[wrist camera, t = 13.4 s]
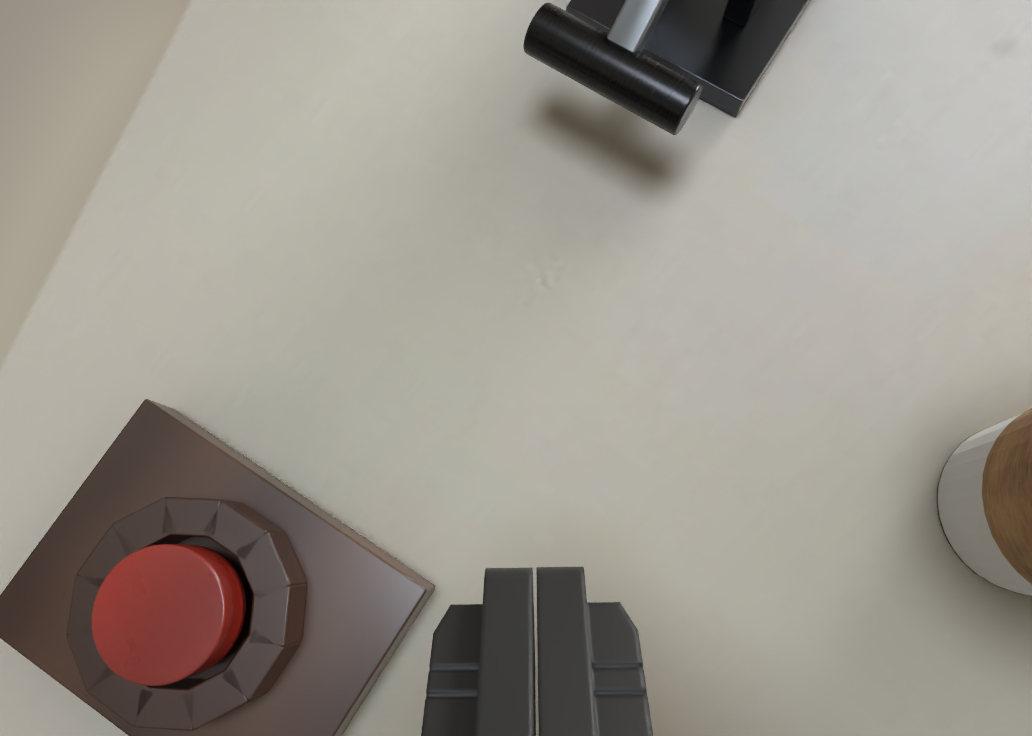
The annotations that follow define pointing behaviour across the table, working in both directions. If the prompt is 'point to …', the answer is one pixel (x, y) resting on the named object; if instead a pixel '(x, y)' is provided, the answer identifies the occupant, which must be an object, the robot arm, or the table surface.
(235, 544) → the button block
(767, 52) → the lever stand
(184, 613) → the button
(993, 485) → the coffee cup
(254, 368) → the table surface
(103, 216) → the table surface
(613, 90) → the tap lever
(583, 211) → the table surface
